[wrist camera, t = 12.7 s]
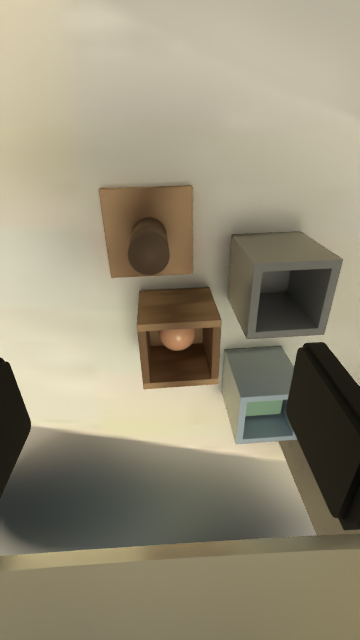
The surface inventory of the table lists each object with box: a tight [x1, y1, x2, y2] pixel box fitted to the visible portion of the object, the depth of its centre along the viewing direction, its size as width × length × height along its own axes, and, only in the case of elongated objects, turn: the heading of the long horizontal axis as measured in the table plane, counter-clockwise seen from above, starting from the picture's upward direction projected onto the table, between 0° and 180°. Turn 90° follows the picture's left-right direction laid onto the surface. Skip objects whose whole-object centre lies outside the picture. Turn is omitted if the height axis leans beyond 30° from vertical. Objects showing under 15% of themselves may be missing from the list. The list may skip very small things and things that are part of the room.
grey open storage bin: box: [228, 232, 343, 339], centre depth 26 cm, size 6×6×7 cm
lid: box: [99, 185, 193, 278], centre depth 24 cm, size 7×7×6 cm
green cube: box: [245, 400, 283, 416], centre depth 32 cm, size 4×4×4 cm
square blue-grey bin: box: [222, 346, 297, 444], centre depth 32 cm, size 6×6×7 cm
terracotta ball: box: [158, 328, 196, 351], centre depth 29 cm, size 3×3×3 cm
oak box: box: [137, 287, 221, 389], centre depth 28 cm, size 6×6×6 cm
